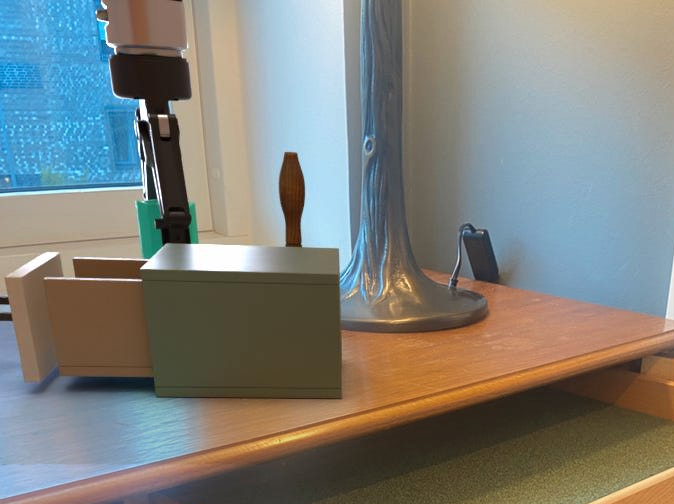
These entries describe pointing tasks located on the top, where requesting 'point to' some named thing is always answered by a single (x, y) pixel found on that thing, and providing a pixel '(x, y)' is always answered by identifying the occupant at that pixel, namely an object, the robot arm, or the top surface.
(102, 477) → the top surface
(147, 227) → the candle
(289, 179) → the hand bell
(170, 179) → the robot arm
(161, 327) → the cabinet
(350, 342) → the top surface
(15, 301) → the drawer
